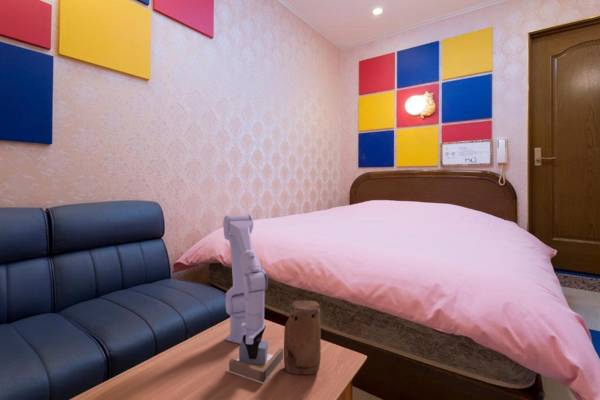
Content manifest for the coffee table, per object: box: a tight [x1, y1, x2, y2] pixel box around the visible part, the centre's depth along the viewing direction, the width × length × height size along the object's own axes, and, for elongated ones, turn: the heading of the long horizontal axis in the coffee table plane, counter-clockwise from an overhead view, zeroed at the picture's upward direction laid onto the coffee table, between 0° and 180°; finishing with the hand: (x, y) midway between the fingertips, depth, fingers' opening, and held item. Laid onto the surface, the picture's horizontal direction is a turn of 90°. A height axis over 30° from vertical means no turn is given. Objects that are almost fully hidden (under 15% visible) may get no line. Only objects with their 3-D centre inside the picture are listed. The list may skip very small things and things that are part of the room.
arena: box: [225, 347, 284, 385], centre depth 88 cm, size 12×13×3 cm
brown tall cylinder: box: [283, 299, 322, 375], centre depth 86 cm, size 11×8×20 cm
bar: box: [238, 340, 269, 364], centre depth 89 cm, size 8×4×5 cm, turn 87°
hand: (254, 353), depth 89 cm, fingers closed on bar, 4 cm apart
